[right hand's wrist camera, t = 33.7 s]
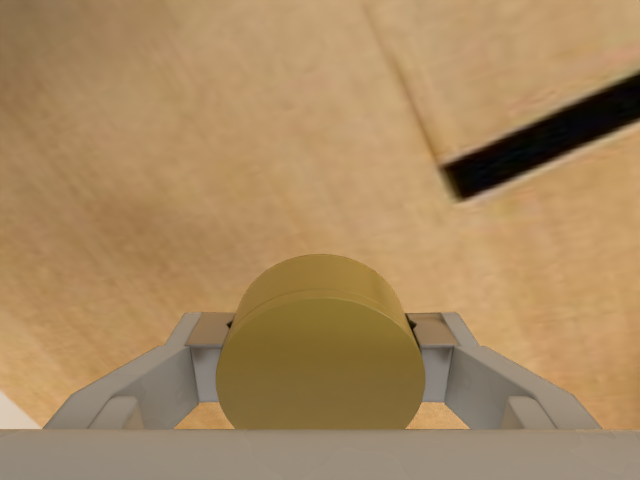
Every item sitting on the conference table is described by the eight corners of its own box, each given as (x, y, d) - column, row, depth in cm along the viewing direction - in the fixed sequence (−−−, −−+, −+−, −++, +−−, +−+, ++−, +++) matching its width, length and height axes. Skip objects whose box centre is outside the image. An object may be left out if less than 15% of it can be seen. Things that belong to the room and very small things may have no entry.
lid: (424, 367, 11) (449, 431, 9) (278, 412, 12) (269, 483, 10) (372, 227, 9) (388, 264, 7) (205, 289, 10) (174, 341, 8)
